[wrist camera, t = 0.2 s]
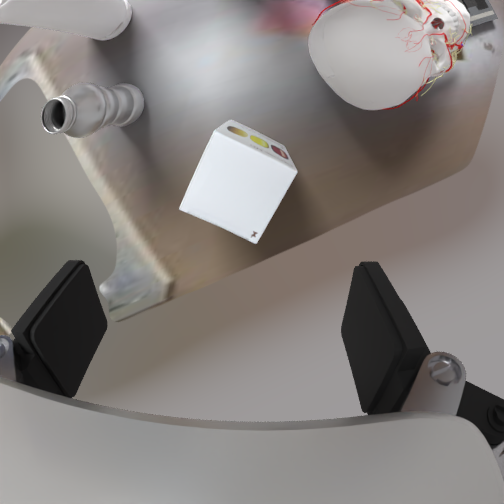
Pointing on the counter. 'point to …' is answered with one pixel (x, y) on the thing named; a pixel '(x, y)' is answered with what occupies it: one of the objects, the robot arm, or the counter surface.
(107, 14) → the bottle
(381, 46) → the anatomical skull model
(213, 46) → the counter surface
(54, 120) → the plastic bottle
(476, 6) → the panel
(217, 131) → the supplement box
